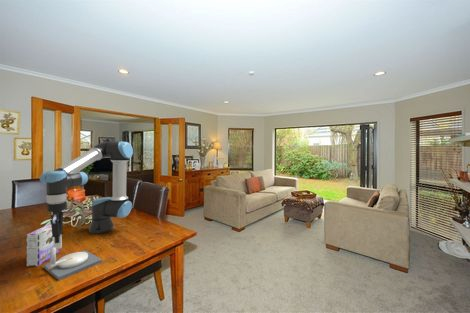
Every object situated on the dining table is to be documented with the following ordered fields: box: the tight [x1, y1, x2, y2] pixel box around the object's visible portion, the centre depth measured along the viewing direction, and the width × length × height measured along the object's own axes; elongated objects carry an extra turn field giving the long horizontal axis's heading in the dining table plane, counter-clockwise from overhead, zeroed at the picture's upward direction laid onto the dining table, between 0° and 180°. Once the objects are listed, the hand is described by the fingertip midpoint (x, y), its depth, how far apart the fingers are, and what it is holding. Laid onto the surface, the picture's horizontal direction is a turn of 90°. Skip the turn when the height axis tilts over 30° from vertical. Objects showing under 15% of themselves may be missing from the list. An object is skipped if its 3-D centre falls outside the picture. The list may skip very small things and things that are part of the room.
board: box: [43, 249, 103, 281], centre depth 104 cm, size 19×18×2 cm
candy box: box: [25, 223, 60, 267], centre depth 108 cm, size 14×6×16 cm, turn 5°
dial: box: [49, 247, 88, 268], centre depth 103 cm, size 15×12×10 cm
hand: (57, 248), depth 103 cm, fingers closed
